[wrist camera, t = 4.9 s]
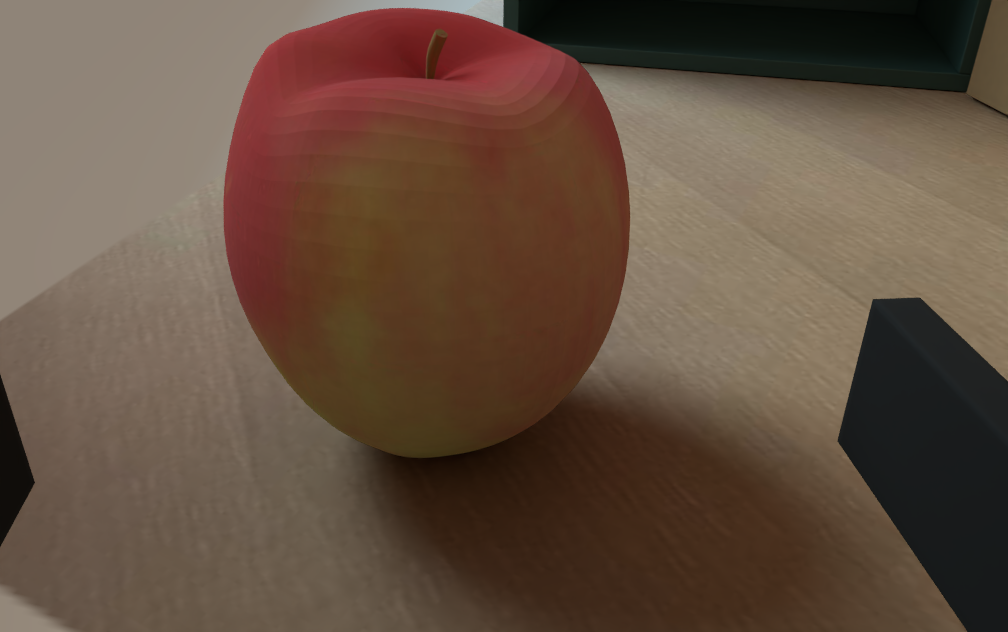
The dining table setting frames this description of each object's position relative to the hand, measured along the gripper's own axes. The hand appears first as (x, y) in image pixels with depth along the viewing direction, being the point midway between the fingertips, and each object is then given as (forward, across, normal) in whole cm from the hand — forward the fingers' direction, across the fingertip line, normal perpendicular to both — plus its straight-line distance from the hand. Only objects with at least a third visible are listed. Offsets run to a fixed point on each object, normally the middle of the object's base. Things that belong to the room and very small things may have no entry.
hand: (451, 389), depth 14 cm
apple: (+8, 0, -6) cm, 10 cm away
